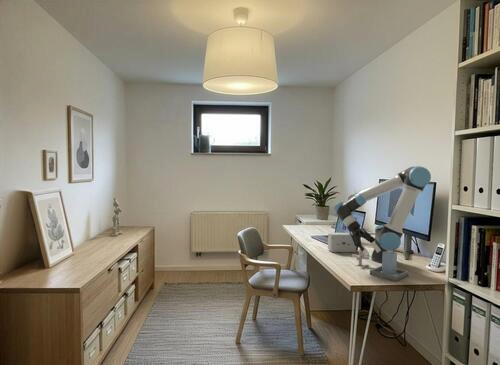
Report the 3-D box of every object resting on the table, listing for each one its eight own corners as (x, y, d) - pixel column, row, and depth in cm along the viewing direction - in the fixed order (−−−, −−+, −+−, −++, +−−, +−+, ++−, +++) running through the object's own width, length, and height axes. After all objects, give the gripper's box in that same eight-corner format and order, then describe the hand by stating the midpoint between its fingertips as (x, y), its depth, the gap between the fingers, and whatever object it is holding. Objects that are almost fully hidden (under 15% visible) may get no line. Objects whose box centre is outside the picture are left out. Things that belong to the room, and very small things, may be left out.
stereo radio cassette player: (355, 250, 245) (356, 223, 244) (359, 252, 237) (360, 225, 236) (327, 249, 244) (328, 222, 243) (330, 252, 236) (331, 224, 235)
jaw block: (385, 271, 192) (386, 249, 191) (396, 274, 187) (397, 251, 187) (381, 272, 189) (382, 250, 188) (392, 275, 184) (393, 252, 183)
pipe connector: (354, 261, 214) (355, 246, 214) (370, 264, 208) (371, 248, 208) (349, 265, 206) (350, 249, 205) (365, 268, 200) (366, 251, 200)
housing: (382, 269, 199) (382, 265, 198) (408, 276, 187) (408, 271, 187) (369, 274, 189) (369, 270, 189) (395, 281, 177) (396, 277, 177)
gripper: (358, 225, 216) (379, 253, 205) (336, 229, 199) (358, 260, 189) (366, 218, 212) (388, 246, 201) (344, 222, 195) (367, 253, 184)
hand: (373, 253), depth 195 cm, fingers open, 13 cm apart
